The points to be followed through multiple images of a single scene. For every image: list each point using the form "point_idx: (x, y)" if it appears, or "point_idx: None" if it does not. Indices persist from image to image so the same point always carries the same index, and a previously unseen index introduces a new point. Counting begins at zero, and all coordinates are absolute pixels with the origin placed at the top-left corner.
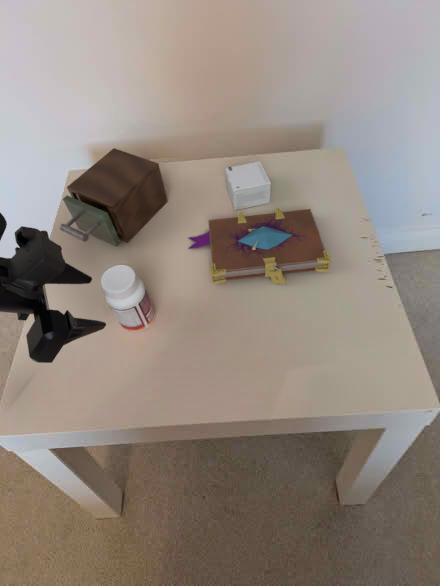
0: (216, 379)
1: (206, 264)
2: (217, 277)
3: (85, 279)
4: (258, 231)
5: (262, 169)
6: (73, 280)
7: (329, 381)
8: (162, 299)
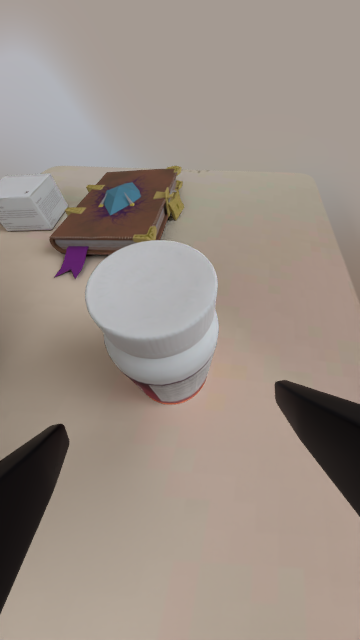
0: (297, 280)
1: None
2: None
3: (51, 451)
4: (112, 193)
5: (21, 175)
6: (19, 526)
7: (295, 207)
8: None
